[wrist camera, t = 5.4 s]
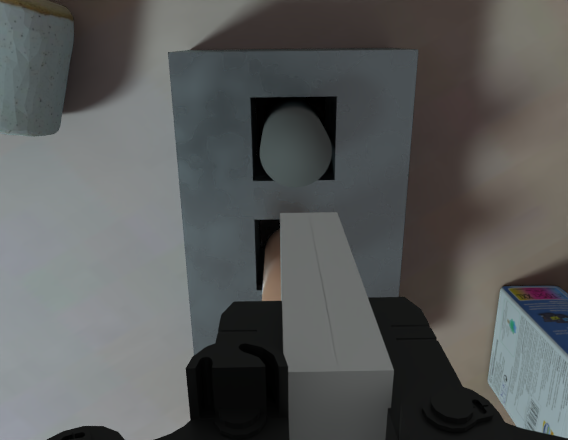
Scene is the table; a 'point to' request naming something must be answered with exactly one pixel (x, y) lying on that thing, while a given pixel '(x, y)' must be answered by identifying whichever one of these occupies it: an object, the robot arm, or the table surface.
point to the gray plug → (294, 143)
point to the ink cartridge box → (532, 357)
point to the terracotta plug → (272, 269)
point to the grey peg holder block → (268, 193)
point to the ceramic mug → (33, 65)
